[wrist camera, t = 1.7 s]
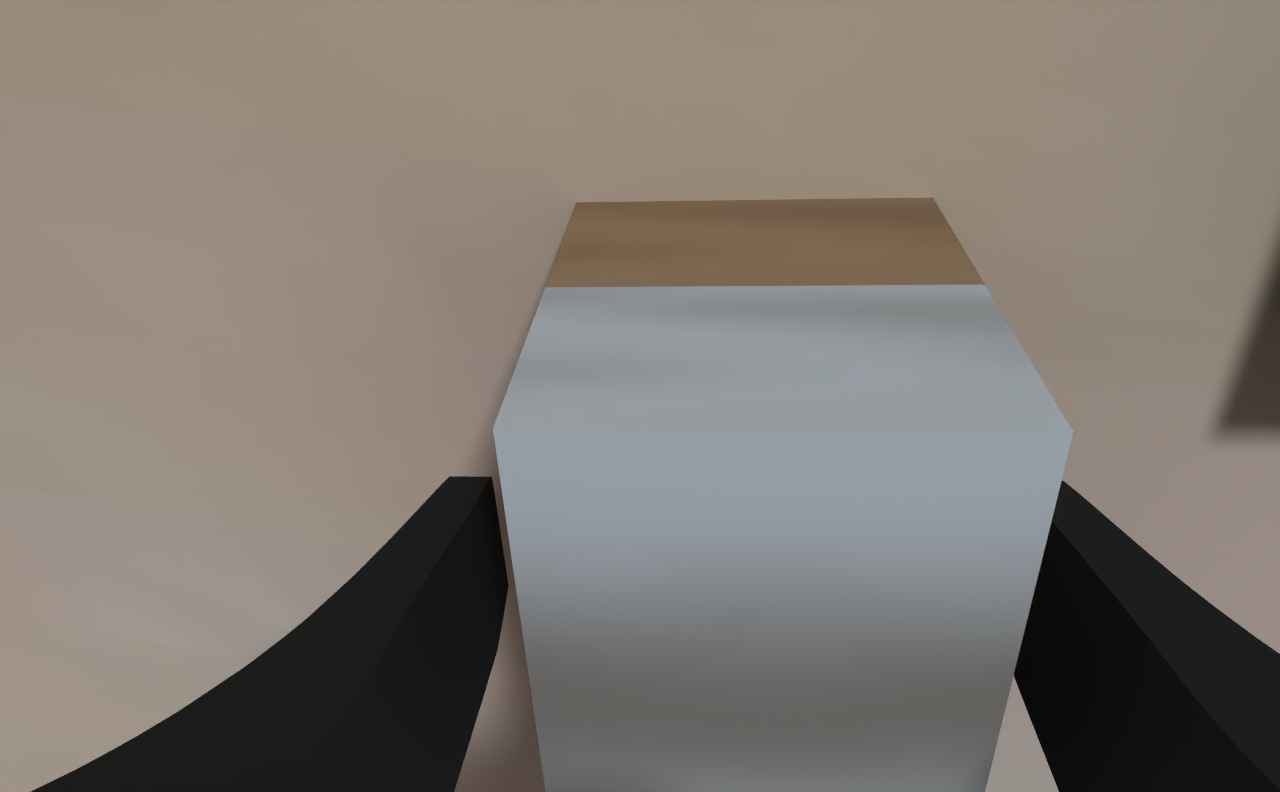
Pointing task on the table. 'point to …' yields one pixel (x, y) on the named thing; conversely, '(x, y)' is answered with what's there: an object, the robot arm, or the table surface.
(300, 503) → the table surface
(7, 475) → the table surface
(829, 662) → the block
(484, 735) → the table surface
